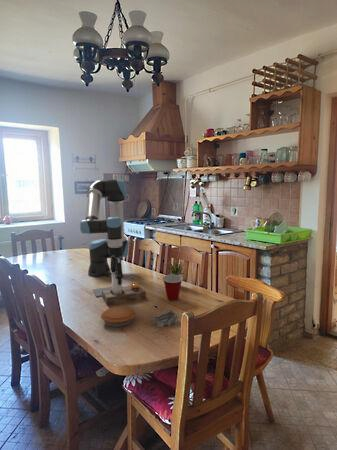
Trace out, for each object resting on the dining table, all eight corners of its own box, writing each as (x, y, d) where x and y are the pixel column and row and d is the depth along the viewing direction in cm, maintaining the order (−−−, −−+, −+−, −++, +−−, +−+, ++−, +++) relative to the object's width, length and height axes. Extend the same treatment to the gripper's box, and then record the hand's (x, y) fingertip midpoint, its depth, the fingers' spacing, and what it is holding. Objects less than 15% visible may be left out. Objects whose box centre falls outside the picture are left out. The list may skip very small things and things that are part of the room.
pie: (136, 313, 152) (136, 303, 151) (134, 328, 137) (134, 317, 136) (104, 314, 152) (104, 304, 151) (98, 330, 136) (97, 319, 136)
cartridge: (112, 298, 173) (110, 273, 171) (120, 296, 174) (119, 272, 173) (114, 301, 168) (112, 275, 166) (123, 299, 170) (121, 274, 168)
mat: (92, 290, 186) (92, 289, 186) (113, 287, 190) (112, 286, 190) (96, 297, 175) (96, 296, 175) (117, 293, 179) (117, 292, 179)
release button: (130, 293, 176) (130, 283, 175) (138, 292, 178) (137, 282, 177) (132, 295, 172) (132, 286, 171) (140, 294, 174) (140, 285, 173)
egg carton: (173, 317, 148) (173, 309, 147) (180, 323, 141) (180, 315, 140) (151, 321, 143) (151, 313, 143) (158, 328, 137) (157, 319, 136)
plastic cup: (165, 304, 163) (165, 281, 161) (160, 296, 173) (160, 275, 172) (185, 301, 166) (185, 279, 164) (179, 294, 176) (179, 273, 174)
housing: (102, 297, 175) (101, 290, 174) (138, 291, 182) (138, 284, 182) (107, 305, 163) (106, 298, 162) (146, 298, 171) (145, 291, 170)
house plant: (192, 283, 194) (192, 257, 192) (187, 291, 181) (187, 263, 178) (170, 282, 198) (169, 256, 195) (163, 289, 185) (163, 262, 182)
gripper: (103, 243, 176) (105, 281, 179) (113, 251, 155) (115, 294, 158) (117, 242, 179) (118, 279, 182) (127, 249, 158) (129, 292, 161)
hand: (117, 286), depth 170 cm, fingers open, 10 cm apart
